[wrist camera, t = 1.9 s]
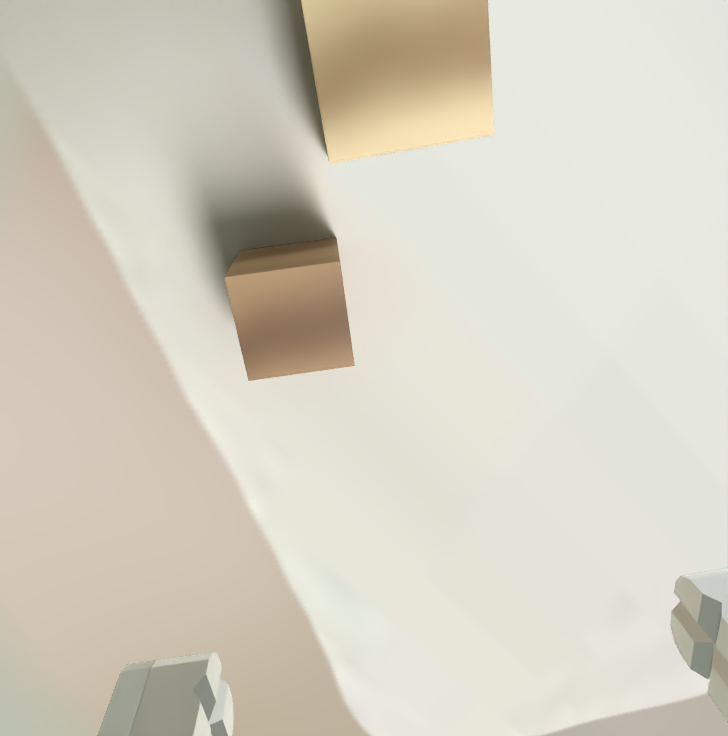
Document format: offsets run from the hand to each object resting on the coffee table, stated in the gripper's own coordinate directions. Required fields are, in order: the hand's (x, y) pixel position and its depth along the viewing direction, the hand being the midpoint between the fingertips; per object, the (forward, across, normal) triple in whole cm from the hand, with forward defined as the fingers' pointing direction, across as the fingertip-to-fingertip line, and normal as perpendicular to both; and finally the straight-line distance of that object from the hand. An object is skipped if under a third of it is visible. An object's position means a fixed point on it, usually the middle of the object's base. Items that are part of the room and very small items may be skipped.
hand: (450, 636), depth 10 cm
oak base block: (+22, -3, -11) cm, 24 cm away
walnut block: (+22, +3, -1) cm, 22 cm away
